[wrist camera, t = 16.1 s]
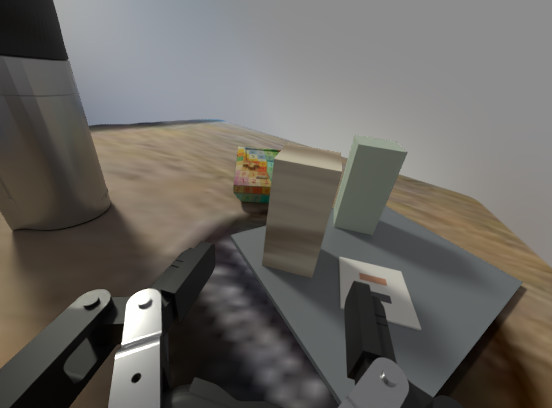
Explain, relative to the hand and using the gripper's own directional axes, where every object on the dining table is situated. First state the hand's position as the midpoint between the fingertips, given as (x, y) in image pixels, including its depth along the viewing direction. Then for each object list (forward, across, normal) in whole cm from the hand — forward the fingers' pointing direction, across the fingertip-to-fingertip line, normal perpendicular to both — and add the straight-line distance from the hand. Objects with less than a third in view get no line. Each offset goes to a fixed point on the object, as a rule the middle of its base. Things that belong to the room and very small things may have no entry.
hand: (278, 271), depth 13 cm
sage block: (+22, -8, +8) cm, 24 cm away
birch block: (+11, 0, +8) cm, 14 cm away
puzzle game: (+31, +8, +10) cm, 33 cm away
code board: (+14, -10, +9) cm, 19 cm away
